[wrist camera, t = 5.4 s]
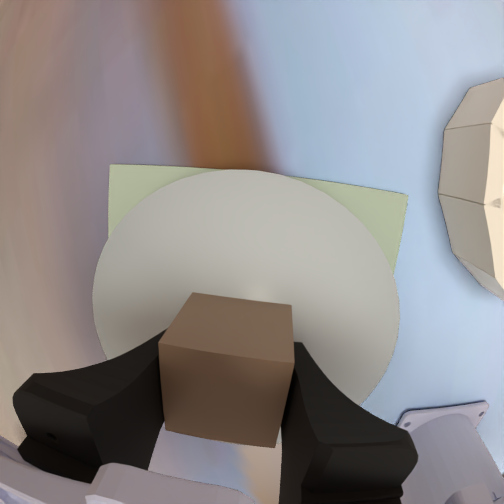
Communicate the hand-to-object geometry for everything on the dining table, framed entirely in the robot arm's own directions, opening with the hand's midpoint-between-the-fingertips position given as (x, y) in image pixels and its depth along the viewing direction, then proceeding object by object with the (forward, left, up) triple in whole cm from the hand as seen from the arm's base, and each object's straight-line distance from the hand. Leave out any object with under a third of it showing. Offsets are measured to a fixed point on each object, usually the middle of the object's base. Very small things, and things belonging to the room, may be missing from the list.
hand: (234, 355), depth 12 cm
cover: (0, 0, -2) cm, 2 cm away
